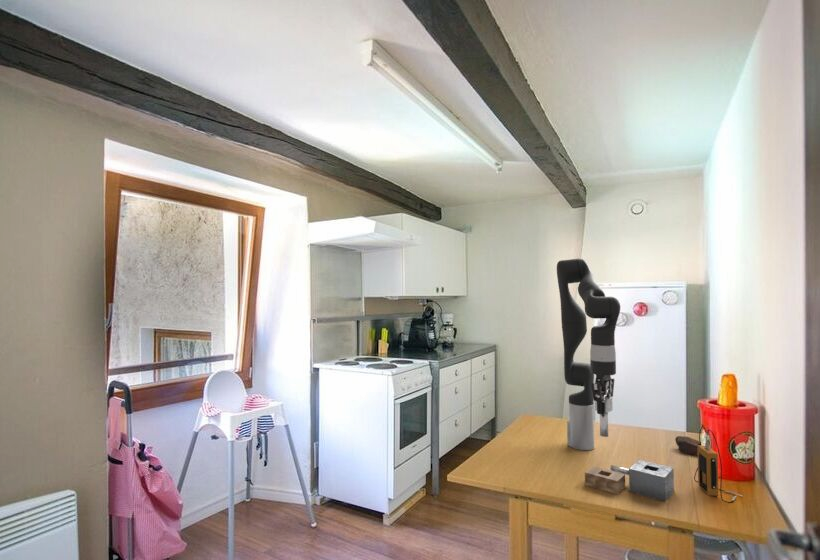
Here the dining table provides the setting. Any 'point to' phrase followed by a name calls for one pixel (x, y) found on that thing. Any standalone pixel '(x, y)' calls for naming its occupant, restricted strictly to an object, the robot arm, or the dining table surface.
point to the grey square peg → (605, 417)
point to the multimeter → (709, 469)
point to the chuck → (649, 479)
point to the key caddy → (605, 480)
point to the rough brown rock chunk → (687, 445)
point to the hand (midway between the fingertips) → (603, 412)
